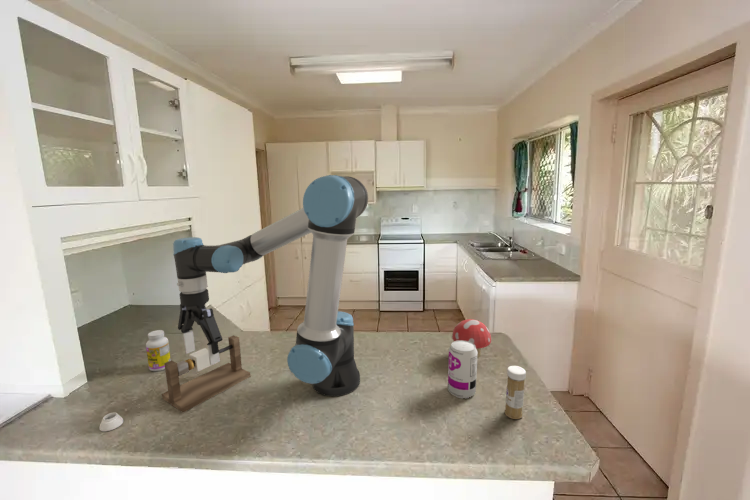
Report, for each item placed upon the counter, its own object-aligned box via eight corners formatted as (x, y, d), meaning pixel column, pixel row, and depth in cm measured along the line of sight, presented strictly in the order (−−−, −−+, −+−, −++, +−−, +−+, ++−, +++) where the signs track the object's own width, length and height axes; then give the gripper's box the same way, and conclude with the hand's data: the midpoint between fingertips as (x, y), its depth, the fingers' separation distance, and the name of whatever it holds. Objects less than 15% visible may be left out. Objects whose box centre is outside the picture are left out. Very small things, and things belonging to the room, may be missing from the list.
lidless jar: (124, 426, 91) (122, 417, 95) (122, 416, 90) (120, 407, 94) (100, 435, 88) (99, 425, 91) (98, 425, 87) (97, 415, 91)
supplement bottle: (144, 369, 119) (139, 334, 116) (163, 360, 125) (159, 327, 122) (157, 373, 116) (152, 338, 114) (175, 364, 122) (171, 330, 120)
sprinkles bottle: (501, 409, 96) (504, 365, 93) (517, 408, 96) (520, 364, 94) (509, 420, 91) (512, 374, 89) (525, 419, 92) (529, 373, 89)
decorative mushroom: (469, 373, 114) (471, 331, 111) (443, 356, 126) (444, 317, 123) (498, 363, 120) (500, 323, 118) (471, 348, 132) (472, 311, 129)
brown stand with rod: (250, 376, 114) (247, 340, 111) (183, 412, 96) (177, 370, 93) (229, 366, 120) (225, 332, 118) (162, 398, 102) (156, 359, 100)
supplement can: (456, 402, 99) (457, 353, 97) (443, 386, 107) (444, 341, 104) (480, 397, 102) (483, 350, 99) (466, 382, 109) (468, 338, 107)
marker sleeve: (213, 364, 106) (212, 351, 106) (197, 371, 102) (196, 357, 102) (206, 360, 109) (205, 347, 108) (190, 367, 105) (189, 354, 104)
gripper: (159, 287, 105) (169, 352, 109) (204, 300, 91) (213, 374, 95) (184, 281, 111) (192, 343, 115) (230, 293, 97) (237, 362, 101)
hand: (202, 357), depth 105 cm, fingers open, 13 cm apart
